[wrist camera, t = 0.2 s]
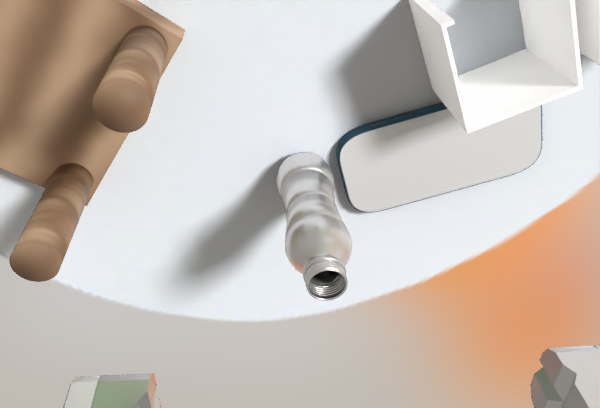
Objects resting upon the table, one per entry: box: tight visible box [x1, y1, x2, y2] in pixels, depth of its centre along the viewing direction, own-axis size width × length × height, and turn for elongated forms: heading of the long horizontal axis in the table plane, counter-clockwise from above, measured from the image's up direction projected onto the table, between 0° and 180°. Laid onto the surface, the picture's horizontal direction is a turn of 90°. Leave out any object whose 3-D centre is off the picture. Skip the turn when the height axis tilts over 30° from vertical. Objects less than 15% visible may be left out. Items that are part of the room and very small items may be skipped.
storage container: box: [408, 0, 600, 134], centre depth 51 cm, size 25×11×11 cm, turn 112°
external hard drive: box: [337, 103, 542, 212], centre depth 64 cm, size 24×12×2 cm, turn 105°
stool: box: [0, 0, 185, 282], centre depth 47 cm, size 22×22×17 cm
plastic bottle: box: [277, 152, 352, 300], centre depth 56 cm, size 6×7×20 cm
